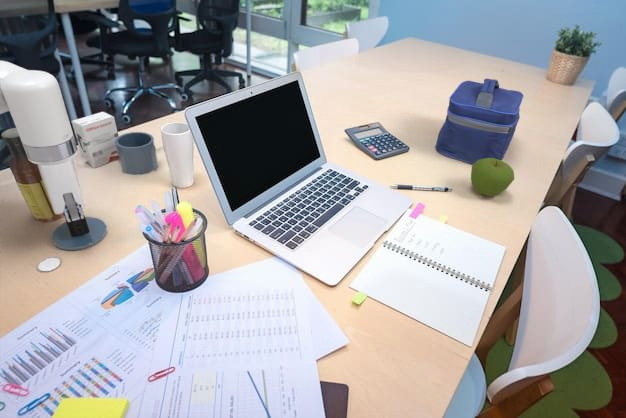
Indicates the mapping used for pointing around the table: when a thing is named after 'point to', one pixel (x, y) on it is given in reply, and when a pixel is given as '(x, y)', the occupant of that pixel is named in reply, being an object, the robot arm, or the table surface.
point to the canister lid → (68, 242)
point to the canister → (136, 153)
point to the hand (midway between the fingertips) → (78, 228)
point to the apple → (491, 176)
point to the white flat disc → (49, 264)
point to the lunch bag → (479, 121)
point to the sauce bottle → (29, 179)
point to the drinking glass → (179, 153)
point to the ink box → (96, 138)
